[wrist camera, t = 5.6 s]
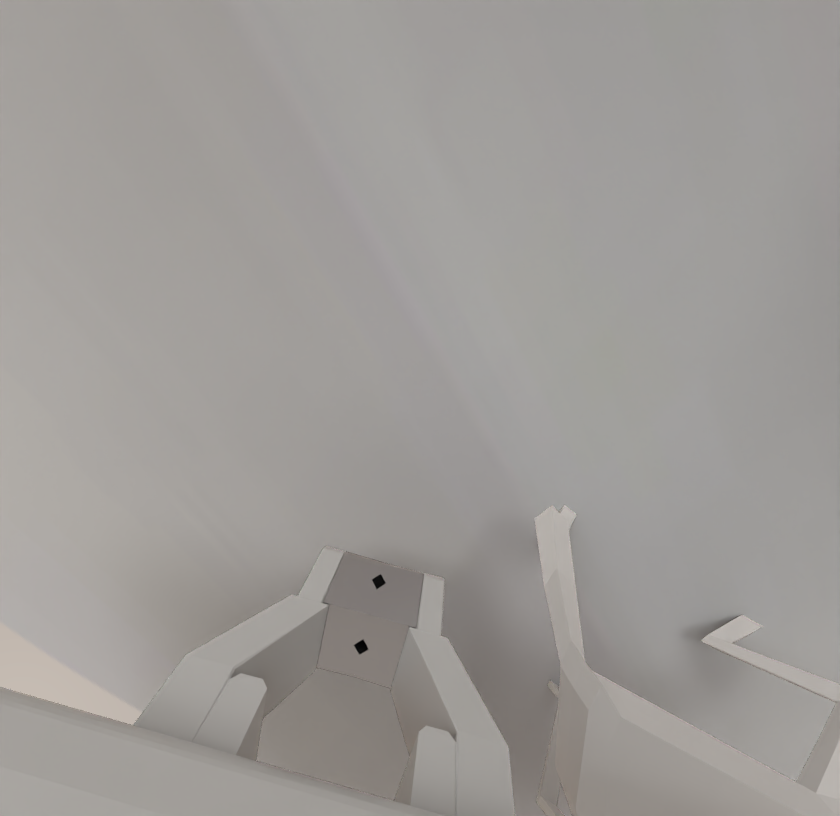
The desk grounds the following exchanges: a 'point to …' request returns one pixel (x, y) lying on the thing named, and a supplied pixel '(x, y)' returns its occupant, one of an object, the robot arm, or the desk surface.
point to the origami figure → (661, 729)
